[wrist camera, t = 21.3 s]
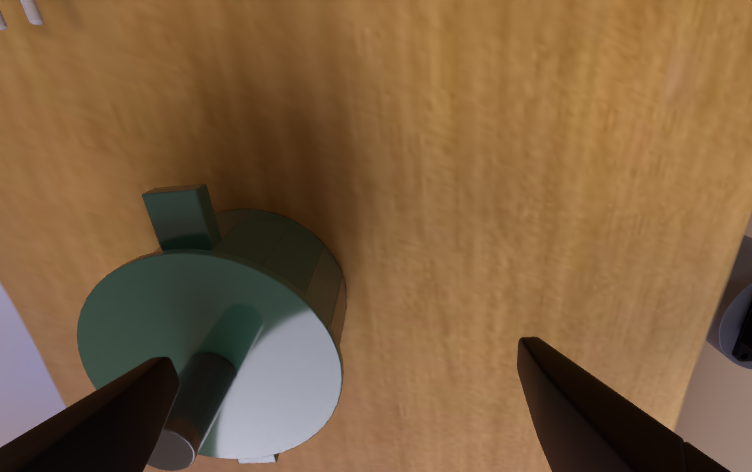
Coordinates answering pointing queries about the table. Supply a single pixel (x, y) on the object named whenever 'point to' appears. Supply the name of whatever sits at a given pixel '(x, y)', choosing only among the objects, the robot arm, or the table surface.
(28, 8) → the charger
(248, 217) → the pot
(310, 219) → the table surface
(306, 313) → the lid
